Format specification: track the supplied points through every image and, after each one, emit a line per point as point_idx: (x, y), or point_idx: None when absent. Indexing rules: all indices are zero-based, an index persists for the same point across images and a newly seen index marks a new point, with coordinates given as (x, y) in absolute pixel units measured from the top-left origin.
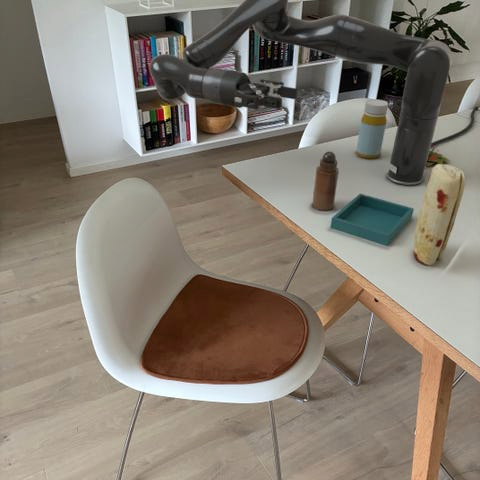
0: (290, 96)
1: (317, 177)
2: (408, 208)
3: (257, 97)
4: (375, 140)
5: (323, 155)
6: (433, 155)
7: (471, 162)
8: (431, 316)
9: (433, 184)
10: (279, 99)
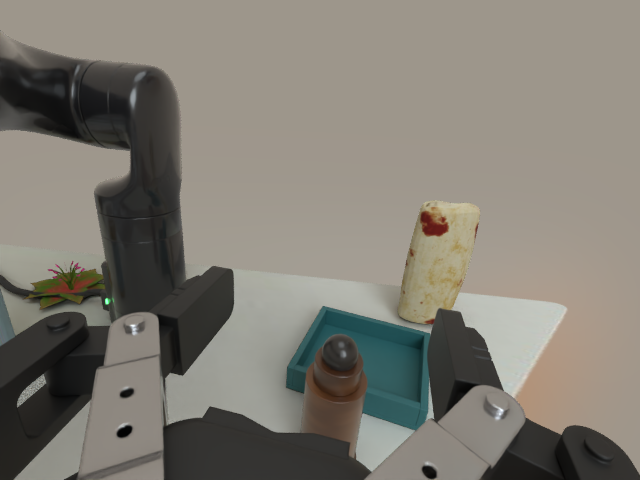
0: (216, 322)
1: (357, 412)
2: (325, 310)
3: (597, 435)
4: (8, 325)
5: (346, 358)
6: (63, 281)
7: (101, 256)
8: (536, 321)
9: (469, 225)
10: (459, 315)
